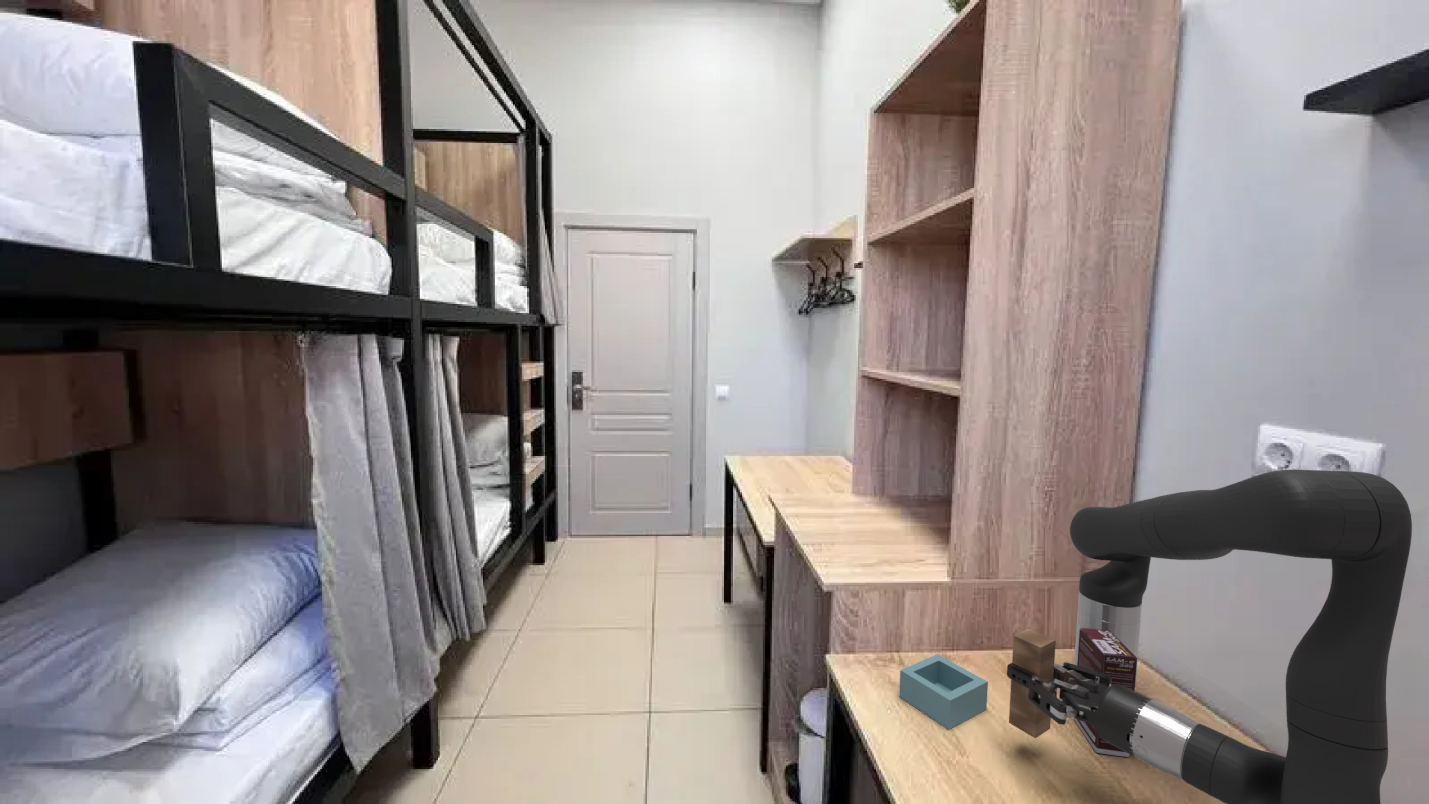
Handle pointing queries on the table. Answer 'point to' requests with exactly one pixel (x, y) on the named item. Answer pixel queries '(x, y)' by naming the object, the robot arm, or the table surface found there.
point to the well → (943, 691)
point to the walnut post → (1038, 659)
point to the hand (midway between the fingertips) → (1017, 665)
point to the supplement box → (1110, 659)
